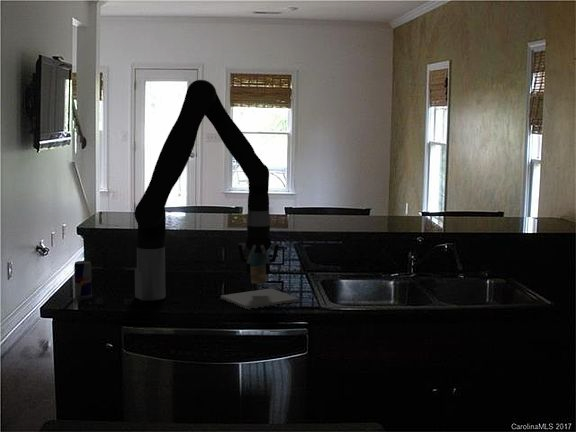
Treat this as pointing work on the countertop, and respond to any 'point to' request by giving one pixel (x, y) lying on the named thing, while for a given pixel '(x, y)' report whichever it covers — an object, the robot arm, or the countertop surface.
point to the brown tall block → (258, 268)
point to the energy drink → (83, 280)
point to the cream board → (259, 298)
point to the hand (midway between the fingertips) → (258, 274)
